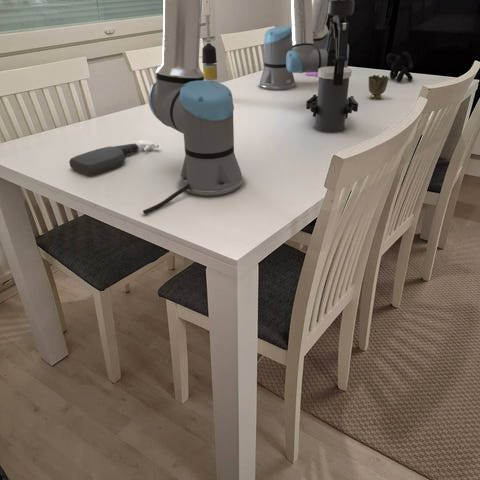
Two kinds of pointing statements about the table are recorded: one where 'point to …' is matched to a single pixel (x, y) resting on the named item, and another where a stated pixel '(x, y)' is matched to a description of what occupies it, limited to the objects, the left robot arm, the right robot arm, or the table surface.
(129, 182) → the table surface
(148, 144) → the spray bottle
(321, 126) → the jar
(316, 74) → the bracket
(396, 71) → the squiggle
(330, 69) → the lid
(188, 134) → the left robot arm
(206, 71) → the filter
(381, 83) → the cup
